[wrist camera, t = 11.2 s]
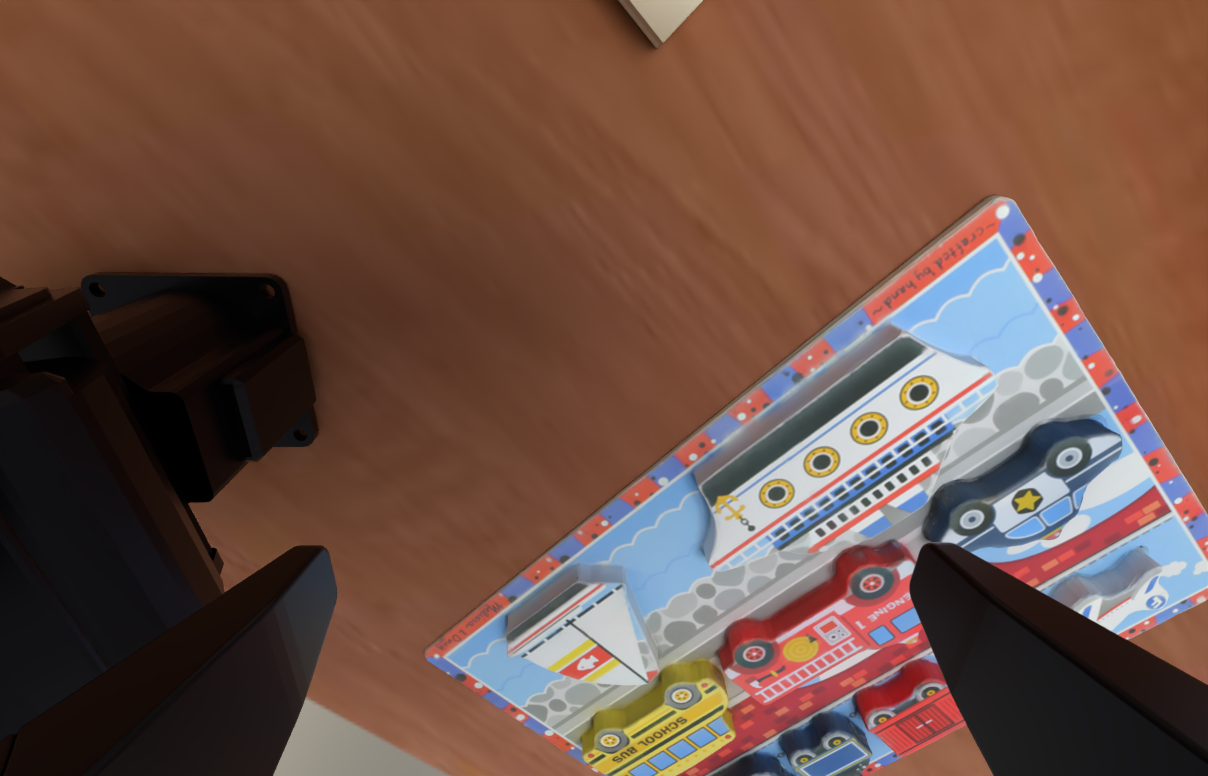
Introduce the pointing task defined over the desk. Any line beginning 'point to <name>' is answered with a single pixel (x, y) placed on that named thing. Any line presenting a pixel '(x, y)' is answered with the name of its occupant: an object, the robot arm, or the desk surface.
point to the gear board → (659, 16)
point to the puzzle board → (846, 532)
